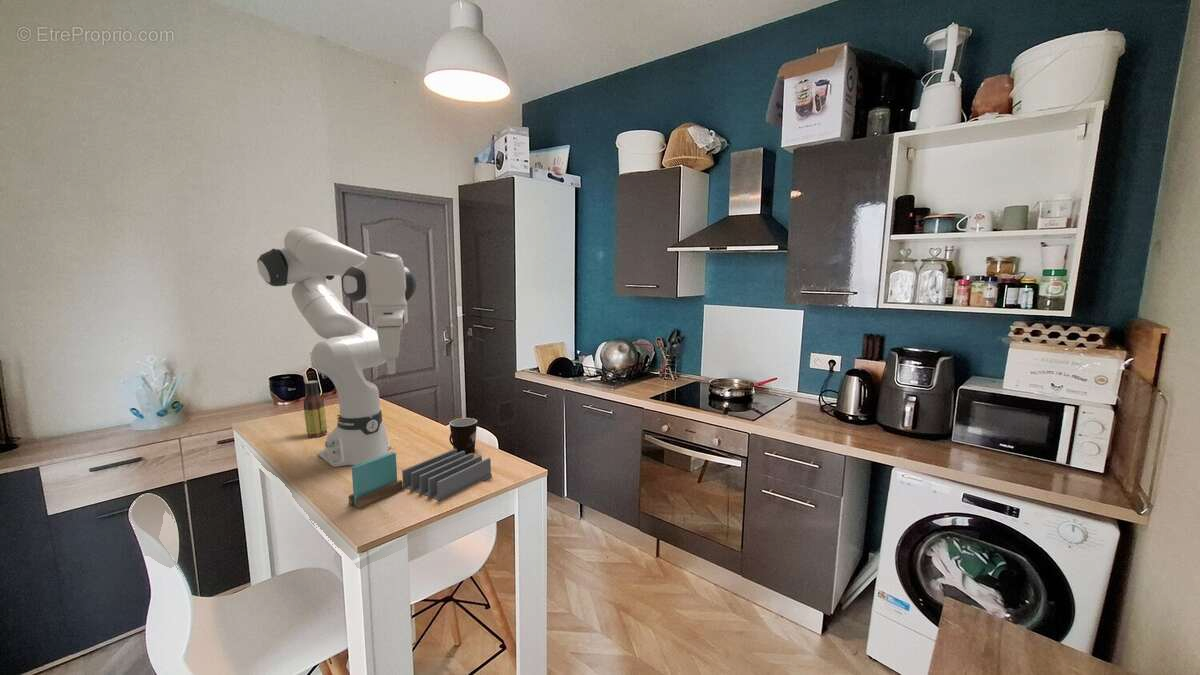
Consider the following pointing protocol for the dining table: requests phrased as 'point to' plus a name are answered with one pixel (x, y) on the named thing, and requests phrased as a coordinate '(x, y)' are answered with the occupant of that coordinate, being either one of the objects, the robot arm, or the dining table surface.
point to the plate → (374, 474)
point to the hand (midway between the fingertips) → (392, 370)
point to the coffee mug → (463, 434)
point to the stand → (376, 495)
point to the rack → (446, 474)
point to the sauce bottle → (314, 410)
